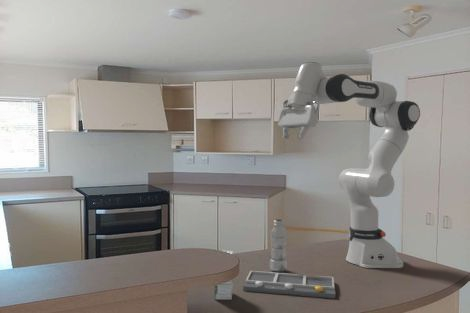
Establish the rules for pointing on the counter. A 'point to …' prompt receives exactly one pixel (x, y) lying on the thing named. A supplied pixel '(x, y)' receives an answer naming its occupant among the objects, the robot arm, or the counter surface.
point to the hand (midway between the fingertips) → (292, 138)
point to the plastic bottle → (278, 246)
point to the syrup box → (224, 289)
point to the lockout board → (290, 284)
